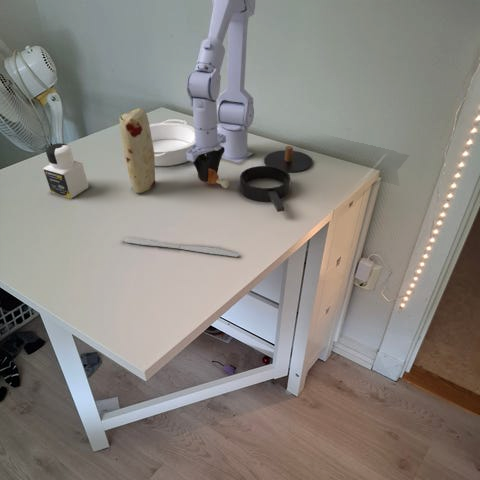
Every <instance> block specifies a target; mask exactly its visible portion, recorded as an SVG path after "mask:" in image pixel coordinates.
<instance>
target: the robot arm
mask: <svg viewBox="0 0 480 480" xmlns="http://www.w3.org/2000/svg"><path fill="white" fill-rule="evenodd" d="M210 1H211V5H212V11H211V18H210V24H209V29H208V36H207V37H206V38H204V39H203V40H202V41H201V44H200V48H199V52H198V56H197V59H196V64H195V68H194V70H193V71H192V72H190V73H189V74H188V77H187V81H186V93H187V96H188V99H189V103H190V106H191V107H192V116H193V127H194V130H195V144H194V145H193V147H192V148H191V149H190V151H188V152H187V153H186V155H187V160H188V161H187V162H192V164H193V166H194V167H195V169H196V173H197V176H198V175H199V178H200V179H199V178H198V179H199V180H200V181H201V182H202V181H204V182H203V183H205V182H207V181H208V170H209V168H210V169H213V170H215V171H216V173H217V174H218V173H219V168H220V163H221V161H222V159H226V160H229V161H233V162H236V163H241V162H242V161H244V160H245V159H247V158H248V157H249V156H251V155H252V154H254V152H252V151H249V150H248V128H250V127H251V126H252V124H253V122H254V118H255V117H254V116H255V108H254V97H253V96H252V95H251V94H250V93H249V92H248V91H247V90H246V89H245V81H246V61H247V43H248V27H249V18H250V17H252V16H254V15H255V10H256V0H210ZM227 32H228V35H227ZM226 35H227V37H228V39H227V67H226V89H225V90H223V91H222V92H221V80H222V76H221V75H222V74H221V70H222V66H223V61H224V58H225V55H226V48H225V46H224V44H223V43H224V40H225V38H226ZM220 92H221V93H220Z"/></svg>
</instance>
